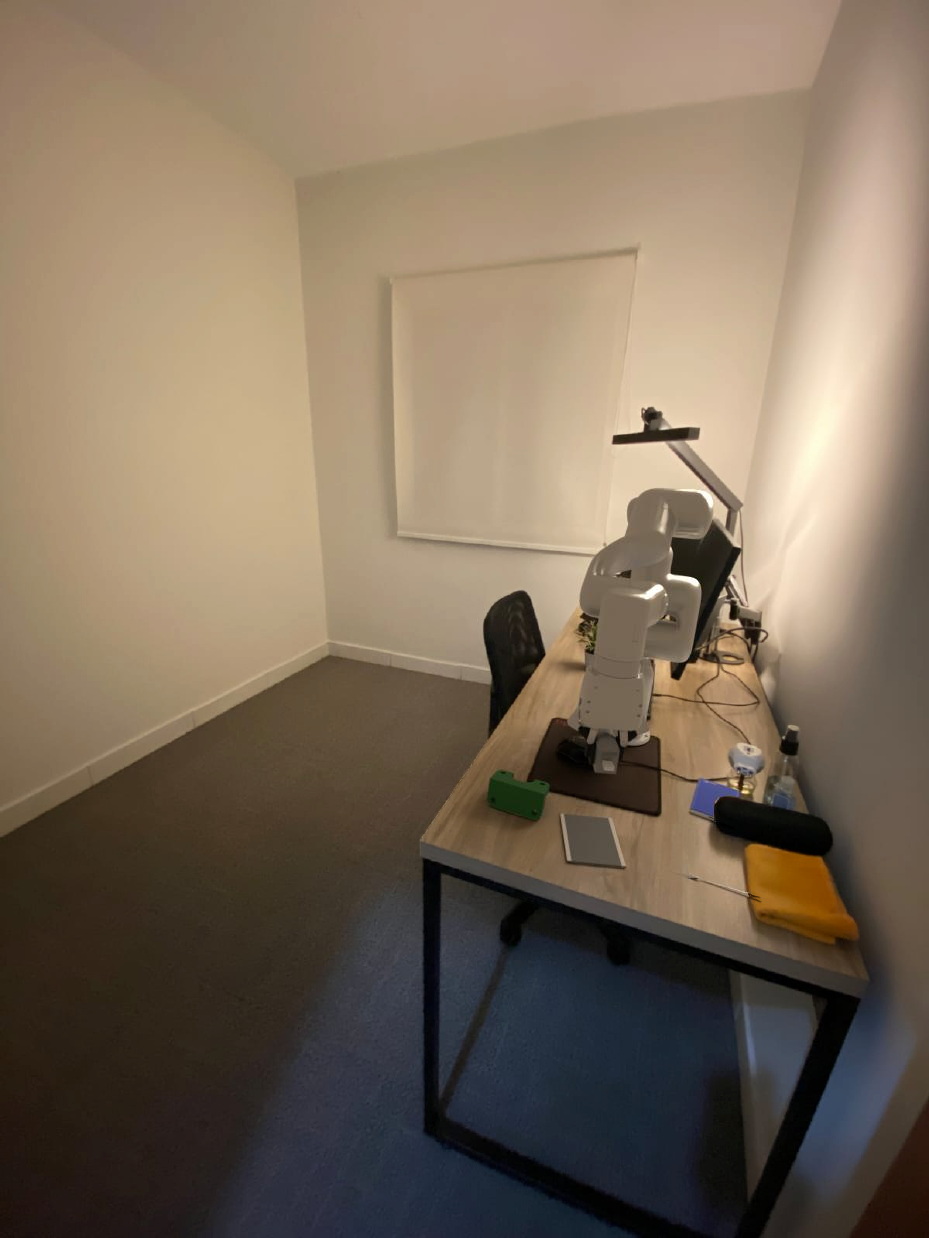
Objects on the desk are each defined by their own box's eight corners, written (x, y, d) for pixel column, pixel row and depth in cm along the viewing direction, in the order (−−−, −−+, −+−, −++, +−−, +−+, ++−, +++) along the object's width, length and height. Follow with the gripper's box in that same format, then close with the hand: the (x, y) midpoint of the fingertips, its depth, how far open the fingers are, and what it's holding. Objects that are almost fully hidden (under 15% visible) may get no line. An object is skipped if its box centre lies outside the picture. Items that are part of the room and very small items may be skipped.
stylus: (640, 849, 88) (761, 887, 81) (640, 854, 88) (760, 891, 81) (638, 866, 85) (764, 906, 78) (638, 870, 85) (763, 911, 78)
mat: (559, 815, 97) (560, 813, 97) (611, 819, 96) (611, 818, 96) (567, 862, 85) (567, 860, 85) (625, 868, 85) (625, 865, 85)
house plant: (563, 659, 174) (567, 615, 169) (599, 658, 177) (605, 615, 172) (579, 676, 161) (584, 629, 156) (618, 674, 163) (625, 628, 158)
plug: (589, 752, 88) (593, 723, 87) (608, 753, 88) (613, 724, 86) (596, 778, 81) (601, 747, 79) (618, 780, 81) (623, 749, 79)
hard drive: (699, 776, 109) (690, 807, 99) (740, 790, 105) (735, 824, 95) (697, 782, 110) (688, 814, 100) (738, 796, 106) (733, 830, 95)
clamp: (534, 823, 101) (558, 789, 99) (527, 835, 95) (552, 800, 93) (488, 785, 104) (509, 752, 102) (478, 796, 99) (500, 760, 97)
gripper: (661, 658, 83) (644, 752, 88) (562, 652, 84) (552, 745, 90) (676, 677, 76) (657, 778, 81) (568, 669, 77) (556, 769, 82)
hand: (602, 760), depth 85 cm, fingers closed on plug, 3 cm apart
